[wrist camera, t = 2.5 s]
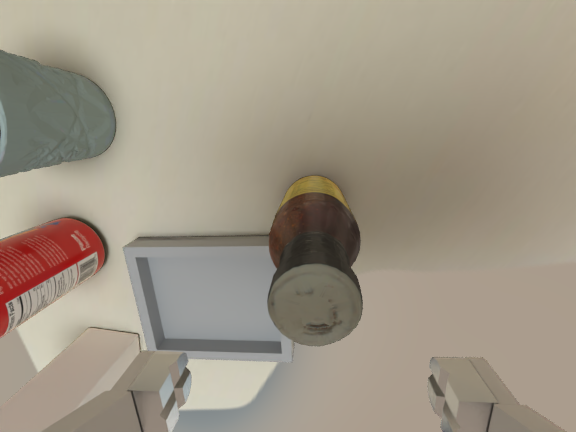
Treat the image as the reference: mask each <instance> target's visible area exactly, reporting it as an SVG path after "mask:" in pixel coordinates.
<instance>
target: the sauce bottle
mask: <svg viewBox="0 0 576 432" xmlns="http://www.w3.org/2000/svg"><path fill="white" fill-rule="evenodd" d="M359 250H360V231H359V228H358V225H357V222H356V220H355V218H354V216H353V214H352V212H351V210H350V208H349V206H348V204H347V202H346V200H345V198H344V196H343V194H342V193H341V191H340V189H339V188H338V186H337V185H336V184H335V183H333V182H332V181H330V180H329V179H327V178H324V177H321V176H308V177H303V178H301V179H299V180H298V181H296V182H295V183H294V184H293V185H292V186H291V187H290V188H289V189H288V191H287V192H286V194H285V197H284V199H283V201H282V203H281V205H280V207H279V209H278V211H277V213H276V216H275V219H274V221H273V225H272V227H271V231H270V233H269V253H270V256H271V259H272V261H273V263H274V265H275V267H276V268H277V270H276V272H275V273H274V275H273V278H272V282H271V286H270V289H269V293H268V300H267V305H268V312H269V315H270V318H271V320H272V321H273V323H274V325H275V326H276V327H277V329H278V330H279V331H280V332H281V333H282V334H283V335H284V336H286V337H287V338H288V339H290V340H292V341H294V342H297V343H299V344H302V345H308V346H323V345H328V344H331V343H334V342H336V341H339V340H341V339H342V338H344V337H346V336H347V335H349V334H350V333H351V332H352V331H353V329H354V328H356V326H357V325H358V322H359V321H360V318H361V315H362V309H363V308H362V304H363V302H362V295H361V289H360V285H359V282H358V279H357V276H356V275H355V274H354V272H353V270H352V269H351V266H352V265H353V263H354V262H355V260H356V258H357V256H358V253H359Z"/></svg>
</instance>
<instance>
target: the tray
mask: <svg viewBox="0 0 576 432" xmlns="http://www.w3.org/2000/svg"><path fill="white" fill-rule="evenodd" d="M123 251H124V255H125V259H126V263H127V267H128V271H129V276H130V280H131V284H132V288H133V292H134V296H135V300H136V304H137V308H138V313H139V317H140V321H141V325H142V329H143V333H144V337H145V341H146V345H147V349H148V351H170V352H184V353H187V357H188V359H210V360H240V361H269V362H292V361H293V351H294V341H292V340H290V339H288V338H287V337H286V336H284V335H283V334H282V333H281V332H280V331H279V330H278V329H277V327H276V326H275V325H274V323H273V321H272V320H271V318H270V315H269V312H268V305H267V300H268V293H269V289H270V286H271V282H272V278H273V275H274V273H275V272H276V270H277V268H276V267H275V265H274V263H273V261H272V259H271V256H270V253H269V236H193V237H138V238H137V239H135V240H134V241H132V242H130V243H129V244H127V245H126V246H124V247H123Z"/></svg>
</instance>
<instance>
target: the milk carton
mask: <svg viewBox="0 0 576 432" xmlns="http://www.w3.org/2000/svg"><path fill="white" fill-rule="evenodd" d="M139 353H140V348H139V338H138V334H132V333H125V332H118V331H111V330H104V329H97V328H88V329H87V330H86V331H85V332H84V333H83V334H81V335H80V336H79V337H78V338H77V339H76V340H75V341H74V342H72V343H71V344H70V345H69V346H68V347H67V348H66V349H65V350H63V351H62V352H61V353H60V354H59V355H58V356H57V357H56V358H54V359H53V360H52V361H51V362H50V363H49V364H48V365H47V366H46V367H44V368H43V369H42V370H41V371H40V372H39V373H38V374H37V375H36V376H34V377H33V378H32V379H31V380H30V381H29V382H28V383H26V384H25V385H24V386H23V387H22V388H21V389H20V390H19V391H18V392H17V393H16V394H14V395H13V396H12V397H11V398H10V399H9V400H7V401H6V402H5V403H4V404H3V405H2V406H1V407H0V432H41V431H43V430H44V429H46V428H47V427H49V426H50V425H52V424H54V423H55V422H57V421H58V420H60V419H61V418H63V417H65V416H66V415H68V414H69V413H71V412H73V411H74V410H76V409H77V408H79V407H80V406H82V405H84V404H85V403H87V402H88V401H90V400H92V399H93V398H95V397H96V396H98V395H99V394H101V393H103V392H104V391H110V390H111V389H112V388H113V386H114V385H115V384H116V382H117V381H118V380H119V378H120V377H121V376H122V375H123V373H124V372H125V371H126V369H127V368H128V367H129V365H130V364H131V363H132V362H133V360H134V359H135V358H136V356H137V355H138V354H139Z"/></svg>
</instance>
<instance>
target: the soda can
mask: <svg viewBox="0 0 576 432" xmlns="http://www.w3.org/2000/svg"><path fill="white" fill-rule="evenodd" d="M104 259H105V251H104V247H103V244H102V242H101V240H100V238H99V237H98V235H97V234H96V233H95V232H94V230H92V229H91V228H90V227H89V226H88V225H86V224H84V223H83V222H81V221H78V220H75V219H71V218H60V219H56V220H53V221H50V222H47V223H44V224H41V225H39V226H36V227H33V228H30V229H28V230H25V231H22V232H19V233H17V234H14V235H11V236H8V237H5V238H3V239H0V338H1V337H3V336H4V335H6V334H7V333H9V332H10V331H12V330H13V329H15V328H16V327H18V326H19V325H21V324H22V323H24V322H25V321H27V320H28V319H30V318H31V317H33V316H34V315H36V314H37V313H38V312H40V311H41V310H43V309H44V308H46V307H47V306H49V305H50V304H52V303H53V302H55V301H56V300H58V299H59V298H61V297H62V296H64V295H65V294H67V293H68V292H70V291H71V290H73V289H74V288H75V287H77V286H78V285H80V284H81V283H83V282H84V281H86V280H87V279H89V278H90V277H92V276H93V275H95V274H96V273H97V272H98V271H99V270H100V269H101V267H102V266H103V263H104Z"/></svg>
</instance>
